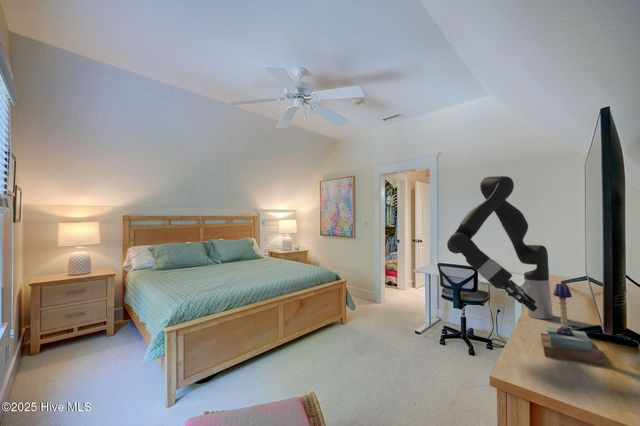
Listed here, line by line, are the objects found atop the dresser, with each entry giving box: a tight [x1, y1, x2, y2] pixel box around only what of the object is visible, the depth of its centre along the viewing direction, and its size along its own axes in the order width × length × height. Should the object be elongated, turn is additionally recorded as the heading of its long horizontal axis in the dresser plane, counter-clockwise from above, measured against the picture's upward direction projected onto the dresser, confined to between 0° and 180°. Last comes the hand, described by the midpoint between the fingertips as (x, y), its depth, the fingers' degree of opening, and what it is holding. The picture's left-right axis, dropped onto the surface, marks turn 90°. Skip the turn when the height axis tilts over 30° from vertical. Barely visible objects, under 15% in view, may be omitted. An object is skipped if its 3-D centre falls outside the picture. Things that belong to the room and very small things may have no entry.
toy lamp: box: [553, 283, 574, 336], centre depth 94 cm, size 5×5×17 cm
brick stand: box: [540, 327, 605, 367], centre depth 93 cm, size 14×14×6 cm
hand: (534, 306), depth 99 cm, fingers open, 8 cm apart
